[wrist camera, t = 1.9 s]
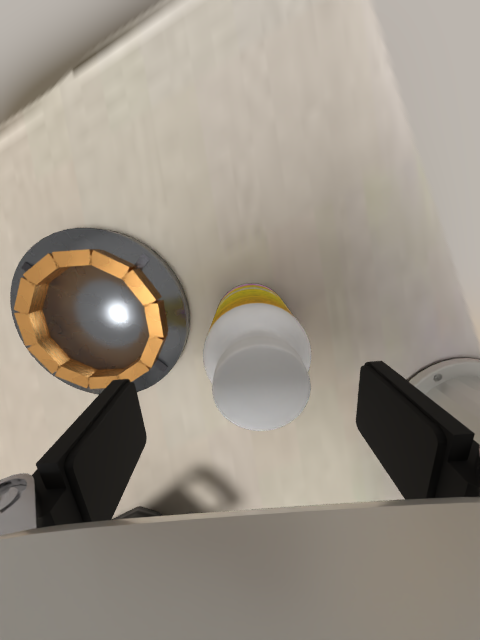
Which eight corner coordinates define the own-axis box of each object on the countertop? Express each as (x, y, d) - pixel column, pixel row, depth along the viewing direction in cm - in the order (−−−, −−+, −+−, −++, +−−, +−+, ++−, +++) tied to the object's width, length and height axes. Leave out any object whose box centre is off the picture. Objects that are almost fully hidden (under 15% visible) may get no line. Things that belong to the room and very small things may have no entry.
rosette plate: (177, 222, 21) (167, 218, 18) (198, 383, 26) (193, 399, 23) (0, 236, 22) (-37, 233, 19) (52, 391, 26) (28, 409, 23)
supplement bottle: (204, 301, 23) (163, 360, 11) (267, 270, 22) (299, 295, 10) (236, 358, 25) (230, 465, 12) (295, 331, 24) (352, 418, 12)
